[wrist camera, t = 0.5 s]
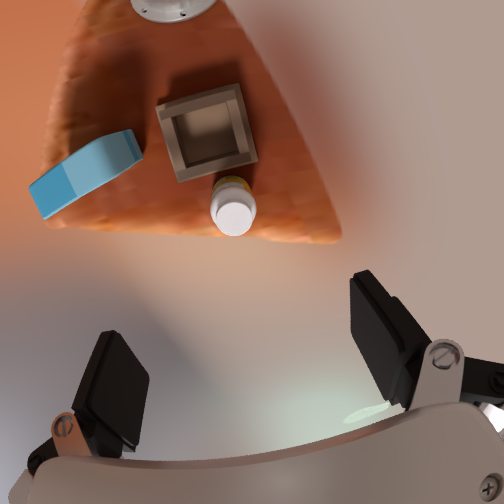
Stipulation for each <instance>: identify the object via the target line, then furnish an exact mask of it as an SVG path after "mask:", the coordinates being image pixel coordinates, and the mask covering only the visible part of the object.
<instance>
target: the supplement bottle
mask: <svg viewBox="0 0 504 504" xmlns="http://www.w3.org/2000/svg"><path fill="white" fill-rule="evenodd" d="M210 210H211V216H212V219H213V221H214V222H215V223H216V225H217V226H218V228H219V229H220V230H221V231H222V232H223V233H225V234H227V235H230V236H238V235H241V234H243V233H245V232H246V231H247V230H248V229H249V228H250V226H251V224H252V221H253V219H254V217H255V214H256V204H255V200H254V197H253V195H252V192H251V189H250V187H249V185H248V183H247V182H246V181H245V180H244V179H242V178H240V177H238V176H226V177H223V178H221V179H220V180H219V181H217V183H216V184H215V185H214V187H213V190H212V198H211V208H210Z"/></svg>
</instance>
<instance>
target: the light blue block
mask: <svg viewBox="0 0 504 504" xmlns="http://www.w3.org/2000/svg"><path fill="white" fill-rule="evenodd" d="M142 159H143V155H142V152H141V150H140V148H139V145H138V143H137V141H136V138H135V136H134V134H133V131H132V130H131V129H129V130H124V131H120V132H117V133H113V134H109V135H105V136H102V137H100V138H98V139H96V140H94V141H92V142H90V143H88V144H87V145H85V146H84V147H82V148H80V149H79V150H77V151H76V152H74V153H73V154H71V155H70V156H69V157H67V158H66V159H64V160H63V161H61V162H60V163H59V164H57V165H56V166H54V167H53V168H52V169H50V170H49V171H48V172H46V173H45V174H44V175H42V176H41V177H40V178H39V179H37V180H36V181H35V182H34V183H32V184H31V185H30V186H29V191H30V193H31V195H32V197H33V199H34V201H35V203H36V205H37V207H38V209H39V211H40V213H41V215H42V217H43V219H47V218H49V217H50V216H52V215H53V214H55V213H56V212H58V211H59V210H61V209H62V208H64V207H65V206H67V205H69V204H70V203H72V202H73V201H75V200H77V199H78V198H80V197H82V196H83V195H85V194H87V193H89V192H90V191H92V190H94V189H95V188H97V187H99V186H101V185H103V184H104V183H106V182H108V181H110V180H111V179H113V178H115V177H116V176H118V175H120V174H121V173H122V172H124V171H125V170H127V169H128V168H130V167H131V166H133V165H134V164H136V163H137V162H139V161H140V160H142Z"/></svg>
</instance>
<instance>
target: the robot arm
mask: <svg viewBox="0 0 504 504" xmlns="http://www.w3.org/2000/svg"><path fill="white" fill-rule="evenodd" d="M216 1H217V0H131V3H132V6H133V8H134V9H135V10H136V12H137V13H138V14H139V15H140V16H142V17H144V18H145V19H147V20H150V21H153V22H158V23H174V22H181V21H185V20H188V19H191V18H193V17H196V16H198V15H200V14H201V13H203V12H205V11H206V10H208V9H209V8H210V7H211V6H212V5H213V4H214V3H215V2H216ZM145 11H147V12H145ZM144 12H145V13H144ZM183 15H186V16H183ZM182 16H183V17H182ZM350 308H351V309H350V311H351V334H352V337H353V339H354V341H355V342H356V344H357V346H358V348H359V350H360V352H361V354H362V356H363V358H364V360H365V362H366V364H367V366H368V368H369V370H370V372H371V374H372V376H373V378H374V380H375V382H376V384H377V386H378V388H379V390H380V392H381V394H382V396H383V398H384V400H385V401H387V400H389V401H390V403H391V405H392V406H393V405H395V404H398V403H400V404H401V406H402V407H403V408H405V410H404V412H403V413H401V414H398V415H395V416H393V417H390V418H387V419H384V420H381V421H379V422H376V423H373V424H371V425H368V426H365V427H362V428H360V429H357V430H353V431H350V432H347V433H344V434H340V435H337V436H334V437H331V438H327V439H324V440H320V441H316V442H312V443H308V444H304V445H300V446H296V447H292V448H287V449H282V450H277V451H271V452H266V453H260V454H253V455H246V456H239V457H230V458H220V459H208V460H189V461H147V460H130V459H124V457H123V456H122V450H123V451H124V452H135V449H136V446H137V445H138V444H139V439H140V432H141V426H142V419H143V413H144V408H145V402H146V396H147V391H148V386H149V375H148V373H147V371H146V370H145V369H144V367H143V366H142V365H141V363H140V362H139V361H138V359H137V358H136V356H135V355H134V353H133V352H132V351H131V349H130V348H129V346H128V345H127V343H126V342H125V340H124V339H123V337H122V336H121V334H119V333H117V332H116V331H114V330H111V331H105V332H102V333H101V334H100V336H99V339H98V341H97V343H96V345H95V348H94V350H93V352H92V355H91V357H90V360H89V362H88V365H87V367H86V369H85V372H84V375H83V377H82V380H81V382H80V385H79V388H78V390H77V393H76V396H75V399H74V402H73V404H72V407H71V408H72V409H73V410H74V411H75V413H74V415H73V414H72V413H70V412H64V413H61V414H60V415H58V416H57V417H56V418H55V420H54V421H53V423H52V427H51V433H52V437H51V438H50V439H49V440H47V441H46V442H45V443H43V444H42V445H41V446H39V447H38V448H37V449H36V450H34V451H33V452H32V453H31V454H30V456H29V458H28V462H27V466H28V470H29V471H28V470H27V469H25V471H24V472H23V473H22V475H21V476H20V477H19V479H18V480H17V482H16V483H15V484H14V486H13V487H12V489H11V490H10V492H9V496H8V499H9V503H10V504H504V364H501V363H495V362H490V361H484V360H480V359H474V358H470V357H465V356H464V352H463V350H462V348H461V347H460V346H459V345H458V344H457V343H456V342H454V341H452V340H449V339H439V340H435V341H434V342H432V341H431V340H430V338H429V337H428V336H427V334H426V333H425V332H424V330H423V329H422V328H421V327H420V325H419V324H418V323H417V321H416V320H415V319H414V318H413V316H412V315H411V314H410V312H409V311H408V310H407V309H406V308H405V306H404V305H403V304H402V303H401V301H400V300H399V299H398V298H397V297H395V296H393V297H391V296H390V295H389V293H388V292H387V291H386V290H385V289H384V287H383V286H382V285H381V284H380V283H379V282H378V280H377V279H376V278H375V277H374V275H373V274H372V273H371V272H370V271H369V270H364V271H362V272H358V273H355V274H354V276H353V278H351V279H350ZM499 434H500V435H501V436H500V435H499ZM501 437H502V438H501ZM502 439H503V440H502Z"/></svg>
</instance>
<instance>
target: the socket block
mask: <svg viewBox="0 0 504 504" xmlns="http://www.w3.org/2000/svg"><path fill="white" fill-rule="evenodd" d="M155 108H156V112H157V116H158V119H159V122H160V126H161V129H162V133H163V136H164V139H165V143H166V146H167V149H168V153H169V156H170V159H171V162H172V165H173V169H174V172H175V175H176V178H177V181H178V183H181V182H185V181H188V180H191V179H195V178H198V177H202V176H205V175H209V174H212V173H216V172H220V171H223V170H227V169H231V168H235V167H239V166H243V165H247V164H251V163H255V162H258V159H257V154H256V150H255V146H254V142H253V138H252V133H251V129H250V125H249V121H248V117H247V113H246V109H245V105H244V101H243V97H242V93H241V89H240V85H239V83H235V84H231V85H227V86H223V87H218V88H215V89H211V90H207V91H203V92H200V93H196V94H193V95H190V96H186V97H183V98H180V99H177V100H174V101H171V102H168V103H165V104H162V105H159V106H156V107H155Z"/></svg>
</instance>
